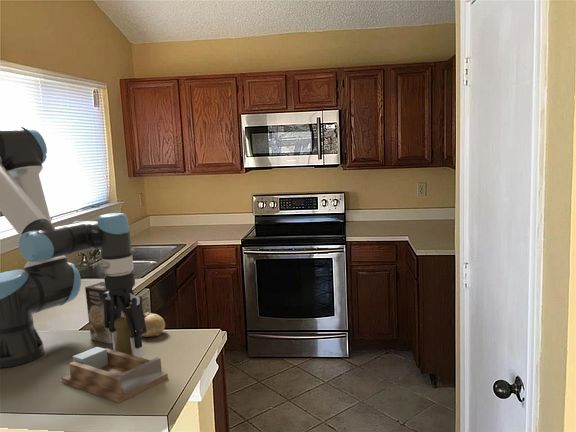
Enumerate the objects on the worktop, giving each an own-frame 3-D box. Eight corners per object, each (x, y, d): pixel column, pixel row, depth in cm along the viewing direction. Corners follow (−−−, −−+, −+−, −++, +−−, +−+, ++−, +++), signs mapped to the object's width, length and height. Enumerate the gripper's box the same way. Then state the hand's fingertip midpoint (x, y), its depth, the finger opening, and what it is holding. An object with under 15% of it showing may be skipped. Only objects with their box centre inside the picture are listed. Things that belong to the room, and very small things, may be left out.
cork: (133, 362, 142) (128, 321, 140) (111, 361, 143) (107, 321, 142) (143, 353, 148) (139, 314, 146) (123, 352, 149) (118, 314, 148)
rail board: (62, 382, 132) (59, 360, 131) (110, 361, 143) (108, 341, 143) (119, 402, 119) (116, 378, 119) (167, 378, 131) (165, 355, 130)
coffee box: (89, 339, 162) (83, 286, 159) (107, 332, 167) (101, 281, 165) (109, 344, 156) (103, 290, 154) (127, 337, 162) (121, 284, 159)
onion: (156, 328, 168) (154, 306, 167) (171, 333, 162) (168, 310, 161) (133, 336, 162) (130, 313, 161) (147, 342, 157) (145, 318, 156)
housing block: (74, 371, 135) (72, 356, 134) (98, 361, 140) (97, 346, 140) (84, 374, 132) (82, 359, 132) (108, 364, 138) (106, 349, 138)
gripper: (83, 272, 145) (93, 355, 148) (131, 279, 133) (141, 368, 137) (107, 266, 151) (116, 345, 154) (155, 272, 139) (164, 358, 143)
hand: (128, 356), depth 145 cm, fingers open, 7 cm apart
